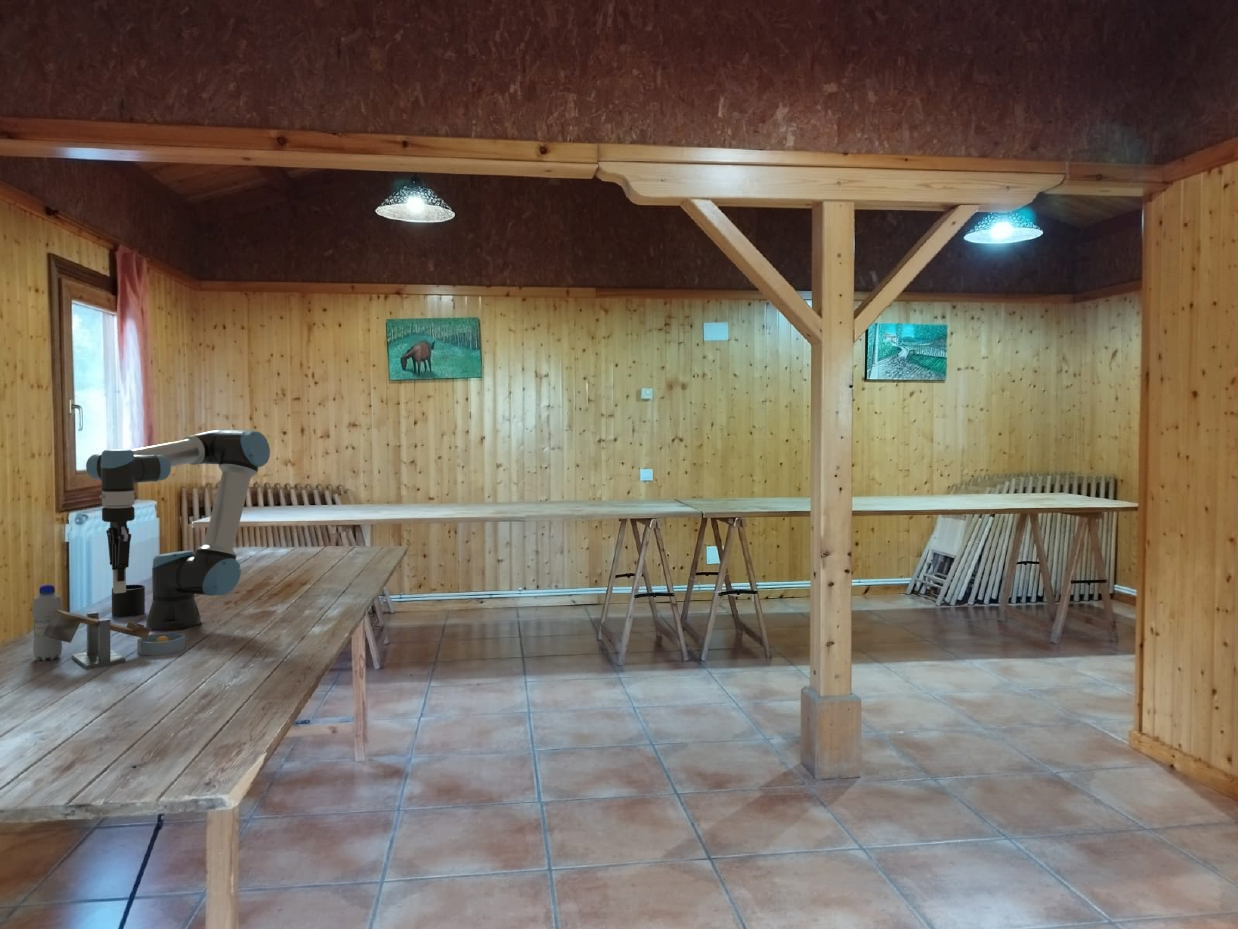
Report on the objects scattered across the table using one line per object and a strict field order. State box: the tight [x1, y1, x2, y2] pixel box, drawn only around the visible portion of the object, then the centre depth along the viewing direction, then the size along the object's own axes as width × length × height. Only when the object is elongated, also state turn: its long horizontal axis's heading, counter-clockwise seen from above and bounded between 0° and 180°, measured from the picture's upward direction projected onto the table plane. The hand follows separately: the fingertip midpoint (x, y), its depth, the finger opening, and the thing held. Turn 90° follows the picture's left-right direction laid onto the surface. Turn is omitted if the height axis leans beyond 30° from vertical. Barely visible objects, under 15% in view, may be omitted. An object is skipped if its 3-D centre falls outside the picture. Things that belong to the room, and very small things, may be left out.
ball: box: [156, 636, 169, 642], centre depth 229 cm, size 3×3×3 cm
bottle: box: [31, 584, 63, 662], centre depth 217 cm, size 7×7×20 cm
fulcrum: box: [71, 611, 127, 670], centre depth 217 cm, size 9×14×12 cm, turn 47°
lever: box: [44, 609, 152, 643], centre depth 217 cm, size 22×8×8 cm, turn 138°
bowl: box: [136, 631, 186, 656], centre depth 229 cm, size 11×11×4 cm
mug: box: [111, 584, 146, 618], centre depth 271 cm, size 9×12×9 cm
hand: (119, 592), depth 220 cm, fingers closed
